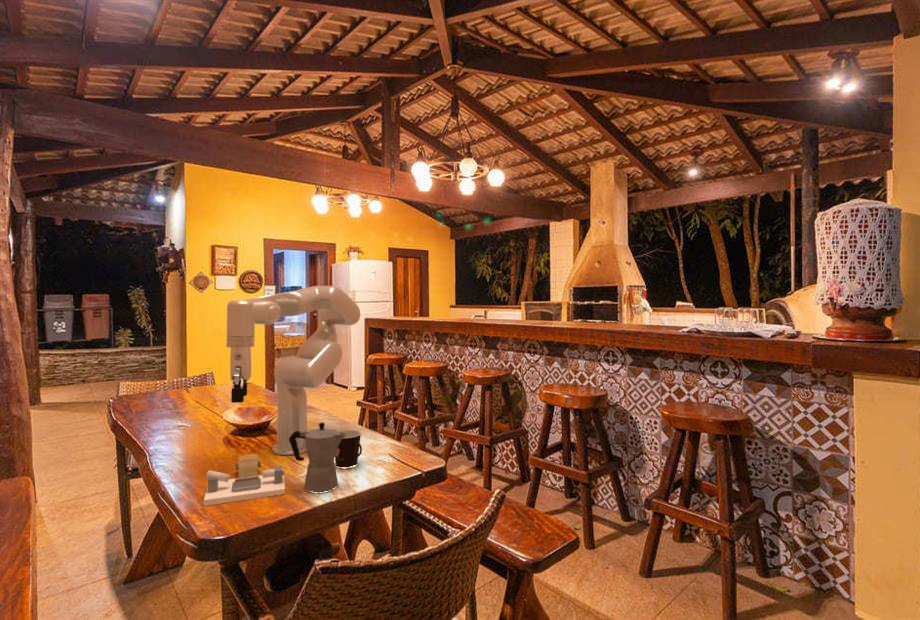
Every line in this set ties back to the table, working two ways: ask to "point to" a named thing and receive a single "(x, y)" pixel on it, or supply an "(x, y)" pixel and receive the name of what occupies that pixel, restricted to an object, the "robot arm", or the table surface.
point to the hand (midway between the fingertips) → (239, 399)
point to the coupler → (248, 465)
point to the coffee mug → (348, 449)
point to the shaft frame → (243, 486)
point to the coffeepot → (319, 457)
